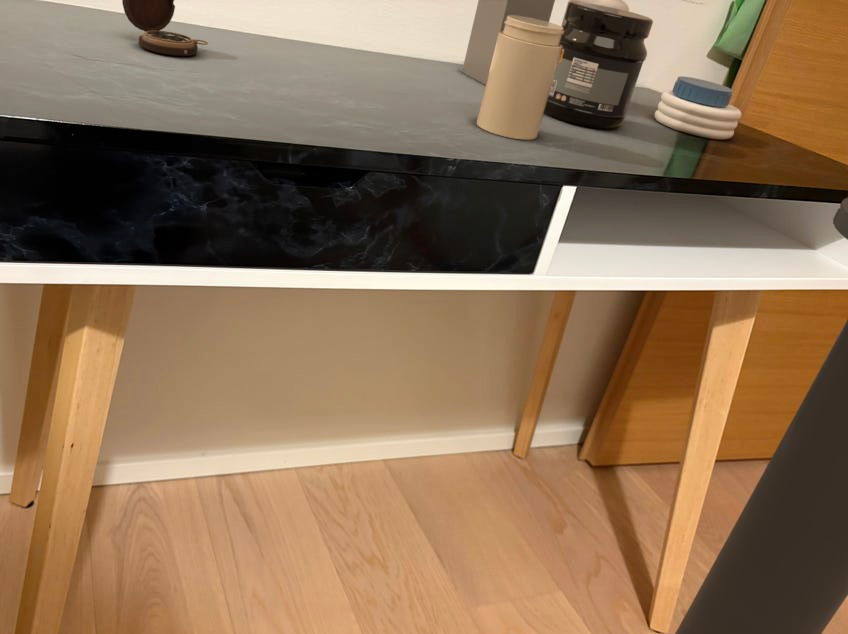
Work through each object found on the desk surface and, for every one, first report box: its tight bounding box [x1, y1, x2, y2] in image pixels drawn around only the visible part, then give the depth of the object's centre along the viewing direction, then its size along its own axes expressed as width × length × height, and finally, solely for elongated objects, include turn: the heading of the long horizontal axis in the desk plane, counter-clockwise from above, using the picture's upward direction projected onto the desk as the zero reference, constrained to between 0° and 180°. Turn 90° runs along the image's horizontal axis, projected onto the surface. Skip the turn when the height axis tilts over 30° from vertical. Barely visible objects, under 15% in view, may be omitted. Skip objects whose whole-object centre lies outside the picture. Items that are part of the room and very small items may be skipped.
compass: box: [121, 0, 209, 57], centre depth 85 cm, size 8×8×7 cm
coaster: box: [654, 90, 742, 141], centre depth 102 cm, size 10×10×4 cm
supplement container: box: [544, 1, 654, 130], centre depth 93 cm, size 10×10×12 cm
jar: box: [476, 15, 564, 141], centre depth 81 cm, size 6×6×11 cm
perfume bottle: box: [461, 0, 556, 86], centre depth 102 cm, size 7×7×18 cm
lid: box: [671, 75, 734, 107], centre depth 101 cm, size 7×7×2 cm
